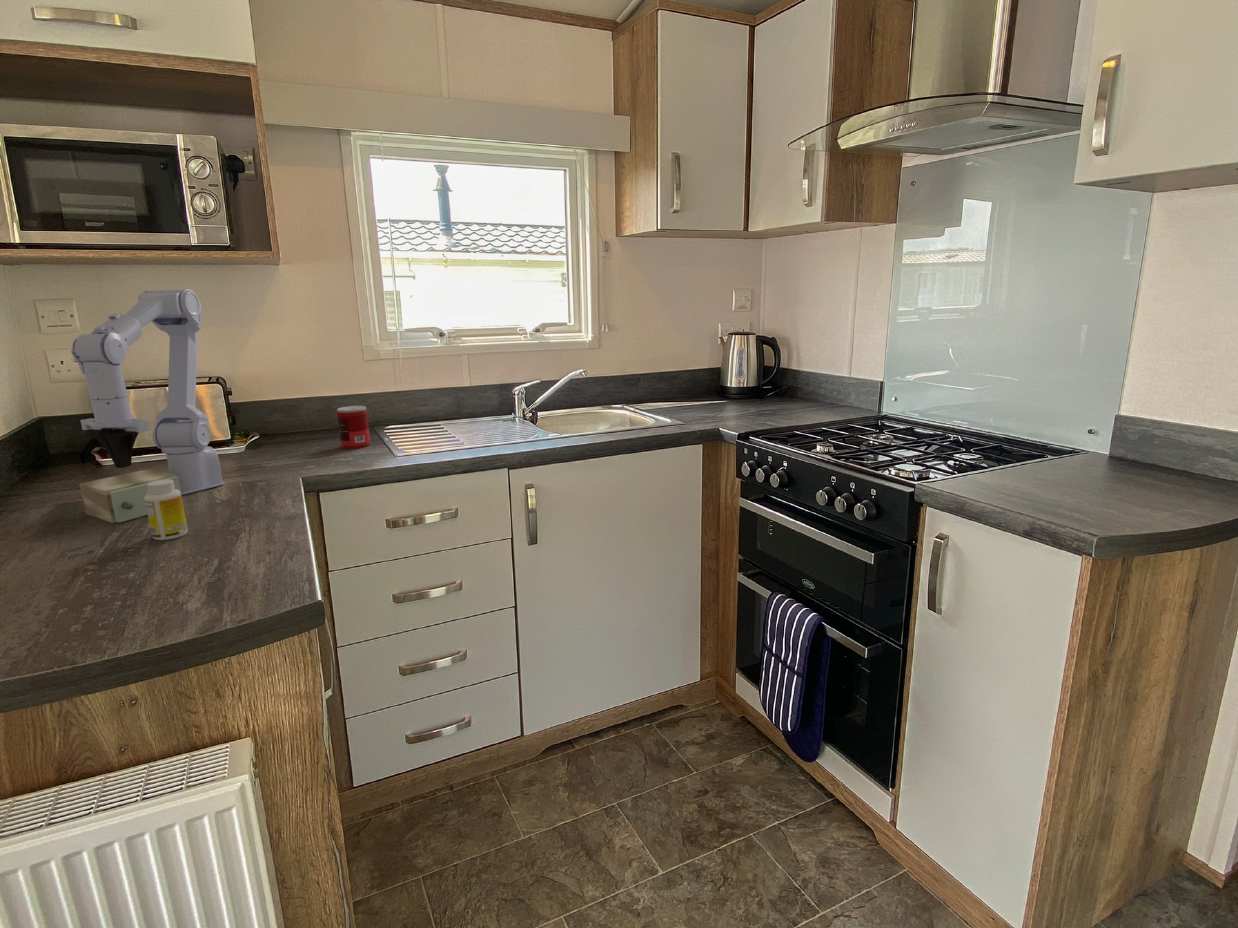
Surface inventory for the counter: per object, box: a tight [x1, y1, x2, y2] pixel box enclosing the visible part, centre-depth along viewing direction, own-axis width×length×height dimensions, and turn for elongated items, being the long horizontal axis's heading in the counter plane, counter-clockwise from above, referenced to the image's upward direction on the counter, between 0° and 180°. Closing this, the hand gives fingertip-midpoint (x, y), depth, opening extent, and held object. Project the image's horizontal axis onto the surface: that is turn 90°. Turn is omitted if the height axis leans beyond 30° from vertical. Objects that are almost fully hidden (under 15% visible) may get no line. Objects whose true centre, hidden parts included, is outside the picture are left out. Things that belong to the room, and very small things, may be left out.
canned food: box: [336, 405, 371, 450], centre depth 194 cm, size 8×8×11 cm
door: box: [110, 476, 184, 523], centre depth 136 cm, size 12×2×6 cm, turn 153°
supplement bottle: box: [144, 479, 189, 541], centre depth 123 cm, size 6×6×10 cm
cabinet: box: [79, 468, 177, 523], centre depth 140 cm, size 13×11×6 cm
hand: (123, 466), depth 133 cm, fingers closed
